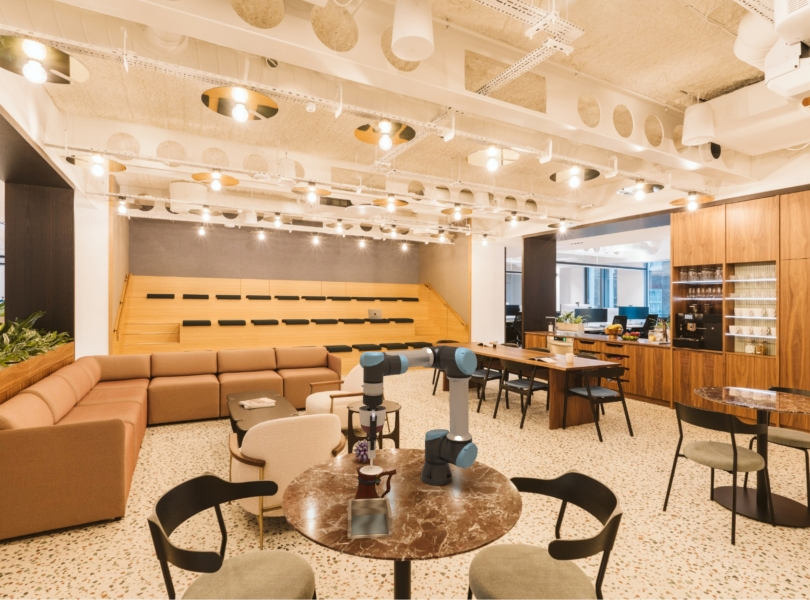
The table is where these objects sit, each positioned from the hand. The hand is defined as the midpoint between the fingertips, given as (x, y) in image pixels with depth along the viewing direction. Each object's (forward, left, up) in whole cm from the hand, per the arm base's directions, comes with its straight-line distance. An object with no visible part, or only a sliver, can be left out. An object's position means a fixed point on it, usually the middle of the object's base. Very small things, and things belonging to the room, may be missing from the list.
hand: (371, 456), depth 153 cm
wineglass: (0, 0, -5) cm, 5 cm away
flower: (0, -64, -27) cm, 70 cm away
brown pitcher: (-3, -19, -27) cm, 33 cm away
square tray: (0, -1, -27) cm, 27 cm away
